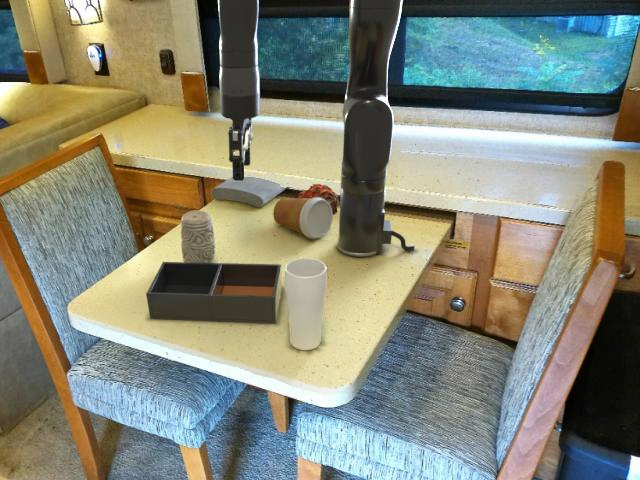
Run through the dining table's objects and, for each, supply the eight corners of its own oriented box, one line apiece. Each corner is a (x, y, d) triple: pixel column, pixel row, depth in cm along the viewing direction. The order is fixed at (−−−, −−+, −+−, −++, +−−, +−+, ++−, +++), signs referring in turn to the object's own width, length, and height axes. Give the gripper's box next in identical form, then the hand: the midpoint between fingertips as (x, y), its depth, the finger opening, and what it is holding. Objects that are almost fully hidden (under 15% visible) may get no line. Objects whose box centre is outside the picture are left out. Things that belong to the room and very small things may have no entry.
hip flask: (263, 208, 153) (299, 182, 167) (262, 193, 151) (299, 168, 165) (212, 198, 160) (250, 173, 174) (210, 184, 158) (249, 160, 172)
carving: (208, 276, 125) (203, 224, 119) (177, 269, 128) (171, 218, 122) (222, 262, 130) (218, 211, 123) (192, 256, 133) (187, 206, 126)
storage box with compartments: (281, 289, 119) (281, 264, 116) (276, 323, 109) (275, 297, 106) (166, 285, 123) (162, 261, 120) (150, 319, 113) (146, 293, 110)
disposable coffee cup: (286, 237, 146) (323, 246, 137) (262, 221, 139) (299, 229, 131) (301, 202, 146) (339, 208, 138) (278, 184, 140) (316, 189, 131)
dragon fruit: (338, 228, 144) (299, 223, 152) (352, 199, 146) (313, 195, 154) (323, 208, 138) (283, 204, 146) (338, 178, 140) (297, 175, 148)
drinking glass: (283, 333, 106) (281, 259, 98) (320, 329, 107) (322, 255, 99) (288, 356, 101) (288, 279, 93) (328, 352, 101) (331, 275, 93)
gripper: (254, 99, 106) (255, 186, 115) (264, 81, 118) (264, 160, 126) (213, 99, 107) (217, 184, 116) (226, 80, 119) (229, 159, 128)
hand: (242, 172), depth 121 cm, fingers open, 8 cm apart
